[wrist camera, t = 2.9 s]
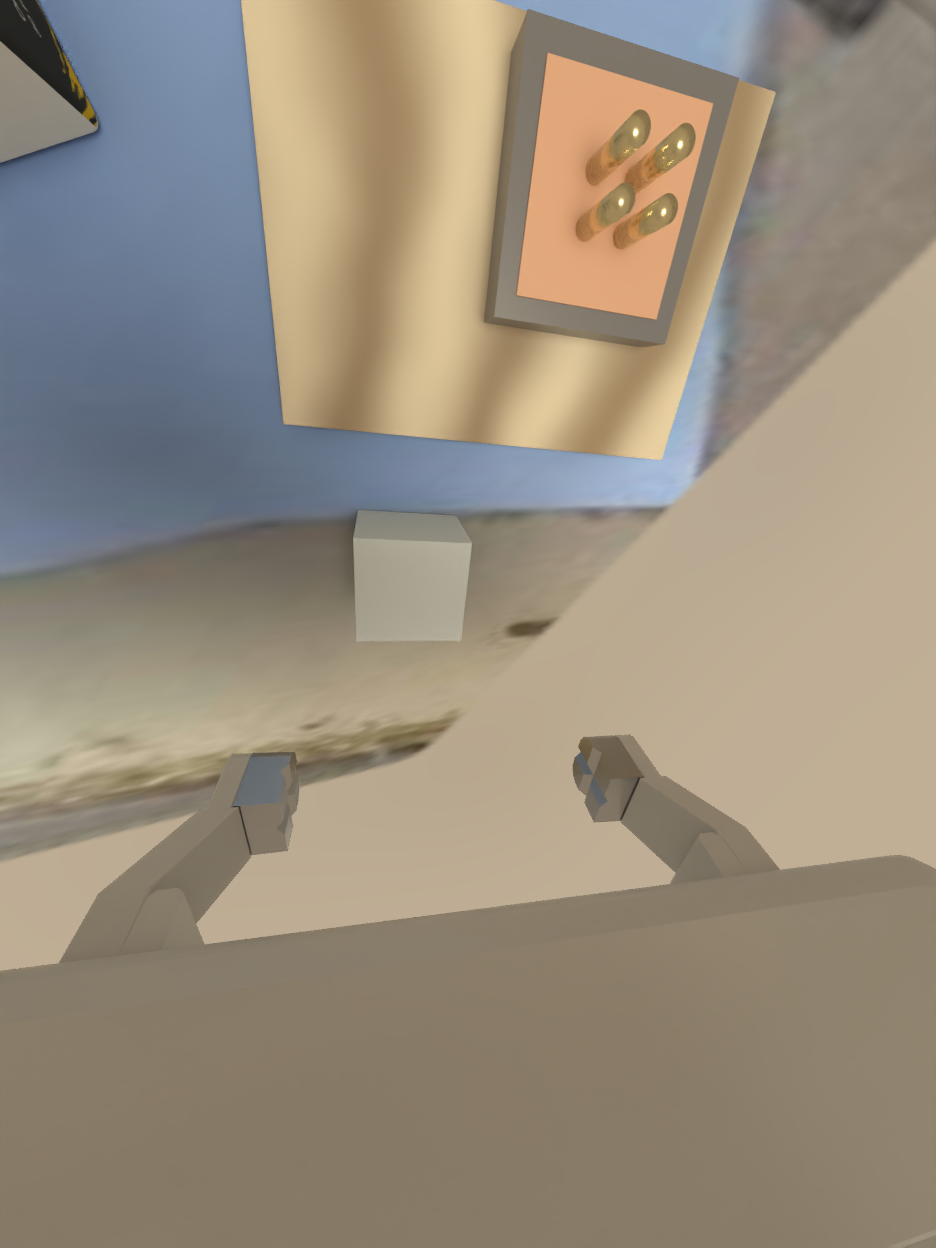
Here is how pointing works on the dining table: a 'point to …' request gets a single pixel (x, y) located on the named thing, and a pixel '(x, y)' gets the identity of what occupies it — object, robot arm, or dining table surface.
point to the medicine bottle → (36, 85)
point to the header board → (489, 219)
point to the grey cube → (410, 576)
